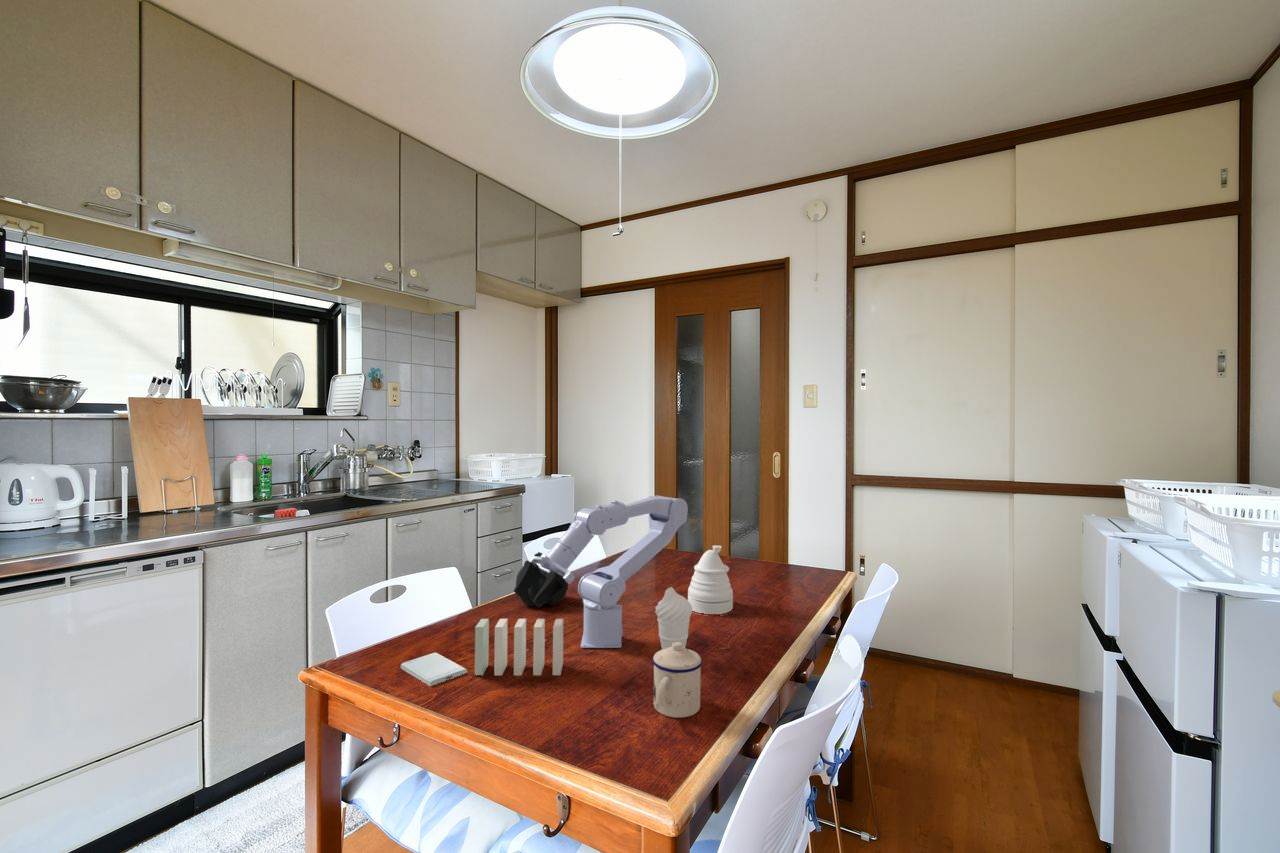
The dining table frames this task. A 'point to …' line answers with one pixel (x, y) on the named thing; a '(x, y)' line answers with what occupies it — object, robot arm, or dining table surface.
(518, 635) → the domino
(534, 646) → the domino
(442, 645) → the dining table surface
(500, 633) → the domino
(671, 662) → the teacup with lid
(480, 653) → the domino
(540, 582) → the squash
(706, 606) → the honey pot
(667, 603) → the soft serve ice cream cone
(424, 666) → the hard drive
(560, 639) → the domino
